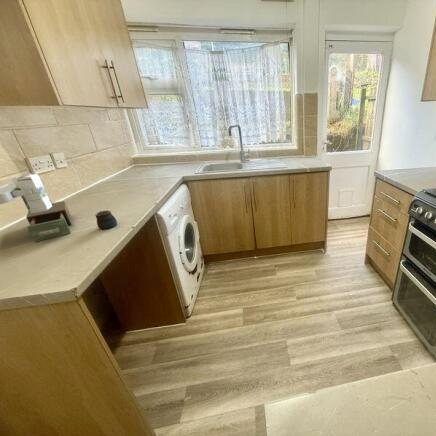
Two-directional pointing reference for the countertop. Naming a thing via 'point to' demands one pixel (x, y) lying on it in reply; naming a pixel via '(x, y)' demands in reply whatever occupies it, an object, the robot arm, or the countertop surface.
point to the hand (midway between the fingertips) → (35, 189)
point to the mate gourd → (105, 220)
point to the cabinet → (52, 212)
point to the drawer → (48, 226)
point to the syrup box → (39, 196)
